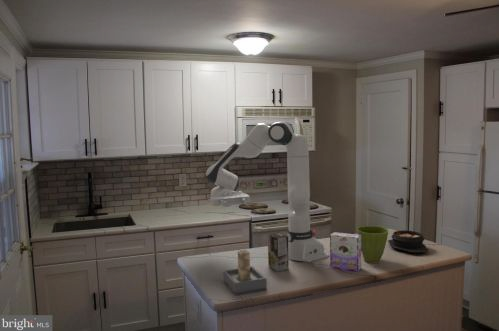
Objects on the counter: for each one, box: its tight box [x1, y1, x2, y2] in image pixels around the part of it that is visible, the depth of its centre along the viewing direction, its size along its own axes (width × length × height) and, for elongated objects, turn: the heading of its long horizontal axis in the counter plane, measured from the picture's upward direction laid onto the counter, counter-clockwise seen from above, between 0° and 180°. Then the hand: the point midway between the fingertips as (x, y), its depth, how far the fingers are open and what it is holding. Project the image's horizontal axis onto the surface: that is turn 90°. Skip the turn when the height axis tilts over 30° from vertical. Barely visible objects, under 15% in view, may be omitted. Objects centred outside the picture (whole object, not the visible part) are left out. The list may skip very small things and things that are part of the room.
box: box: [222, 265, 268, 296], centre depth 178 cm, size 14×16×5 cm
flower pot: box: [356, 225, 389, 264], centre depth 206 cm, size 15×15×16 cm
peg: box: [237, 249, 251, 282], centre depth 177 cm, size 4×4×14 cm
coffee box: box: [267, 232, 290, 272], centre depth 199 cm, size 9×6×16 cm
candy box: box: [329, 231, 362, 272], centre depth 196 cm, size 14×6×16 cm, turn 59°
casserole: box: [387, 230, 430, 254], centre depth 224 cm, size 25×19×8 cm
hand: (235, 202), depth 201 cm, fingers open, 8 cm apart
